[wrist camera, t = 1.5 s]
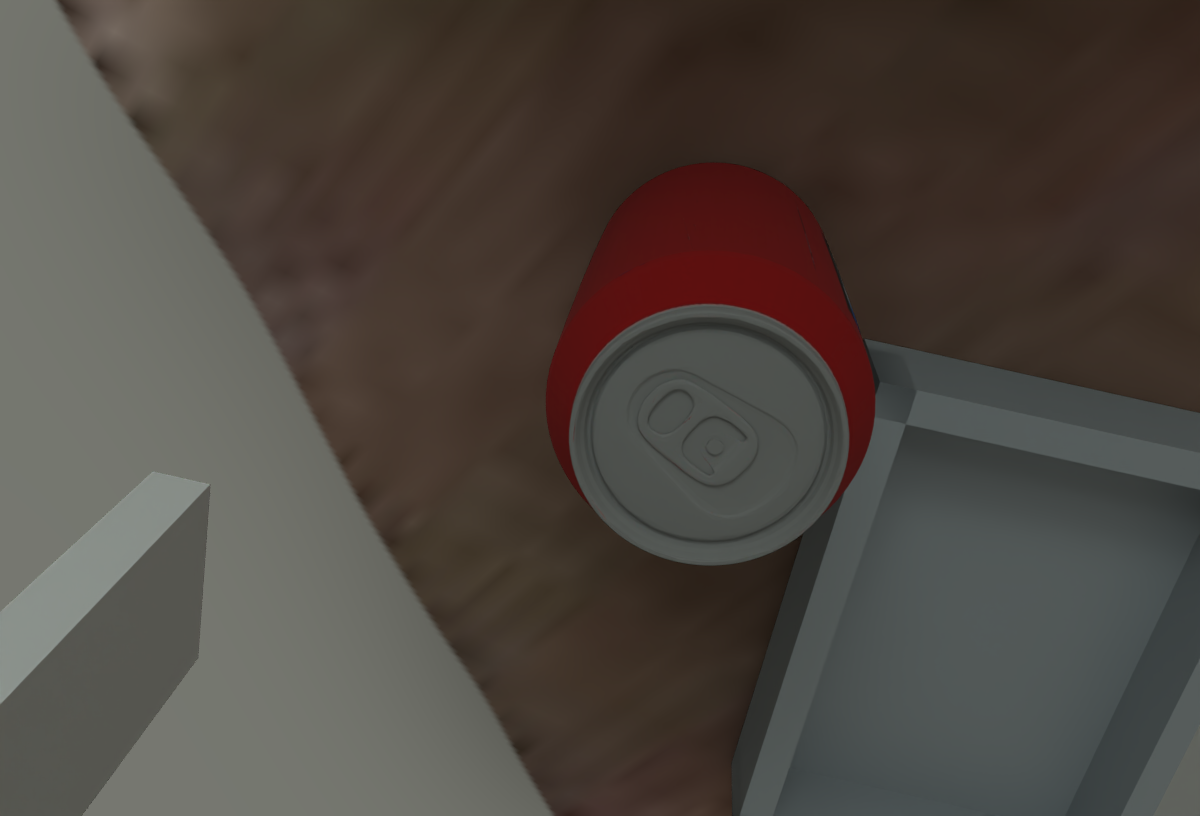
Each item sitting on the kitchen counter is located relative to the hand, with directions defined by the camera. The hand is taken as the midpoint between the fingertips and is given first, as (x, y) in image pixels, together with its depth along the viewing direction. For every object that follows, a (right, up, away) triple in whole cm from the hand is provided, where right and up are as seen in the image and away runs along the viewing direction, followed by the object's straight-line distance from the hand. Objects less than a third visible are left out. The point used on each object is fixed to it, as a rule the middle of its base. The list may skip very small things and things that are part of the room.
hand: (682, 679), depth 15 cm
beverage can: (+2, +8, +18) cm, 20 cm away
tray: (+11, -3, +21) cm, 24 cm away
